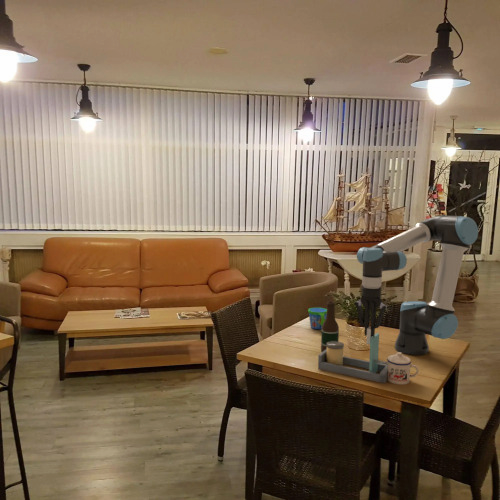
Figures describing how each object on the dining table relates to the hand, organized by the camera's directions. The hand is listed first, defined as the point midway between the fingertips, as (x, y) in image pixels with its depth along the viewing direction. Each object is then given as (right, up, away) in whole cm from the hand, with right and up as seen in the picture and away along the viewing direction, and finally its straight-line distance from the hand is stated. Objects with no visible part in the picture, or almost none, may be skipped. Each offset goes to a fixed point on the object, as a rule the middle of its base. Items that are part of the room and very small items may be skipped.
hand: (369, 343), depth 188 cm
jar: (-12, -12, +9) cm, 19 cm away
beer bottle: (-12, -10, +25) cm, 29 cm away
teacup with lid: (+12, -14, -5) cm, 19 cm away
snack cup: (-12, -5, +64) cm, 65 cm away
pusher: (+4, -13, -1) cm, 14 cm away
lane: (-5, -12, +4) cm, 14 cm away
